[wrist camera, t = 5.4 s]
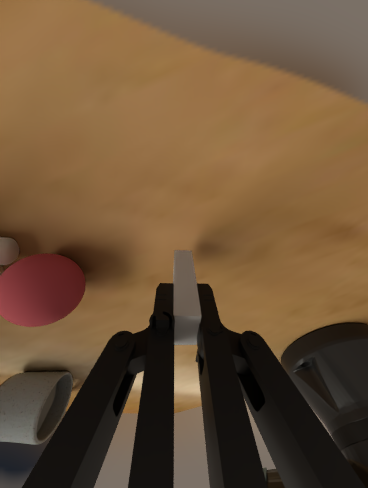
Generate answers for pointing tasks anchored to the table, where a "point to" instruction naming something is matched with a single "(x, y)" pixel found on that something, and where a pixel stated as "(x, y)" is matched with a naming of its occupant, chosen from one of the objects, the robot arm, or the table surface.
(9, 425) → the ceramic mug
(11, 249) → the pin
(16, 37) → the table surface
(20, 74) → the table surface
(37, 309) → the ball
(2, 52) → the table surface
